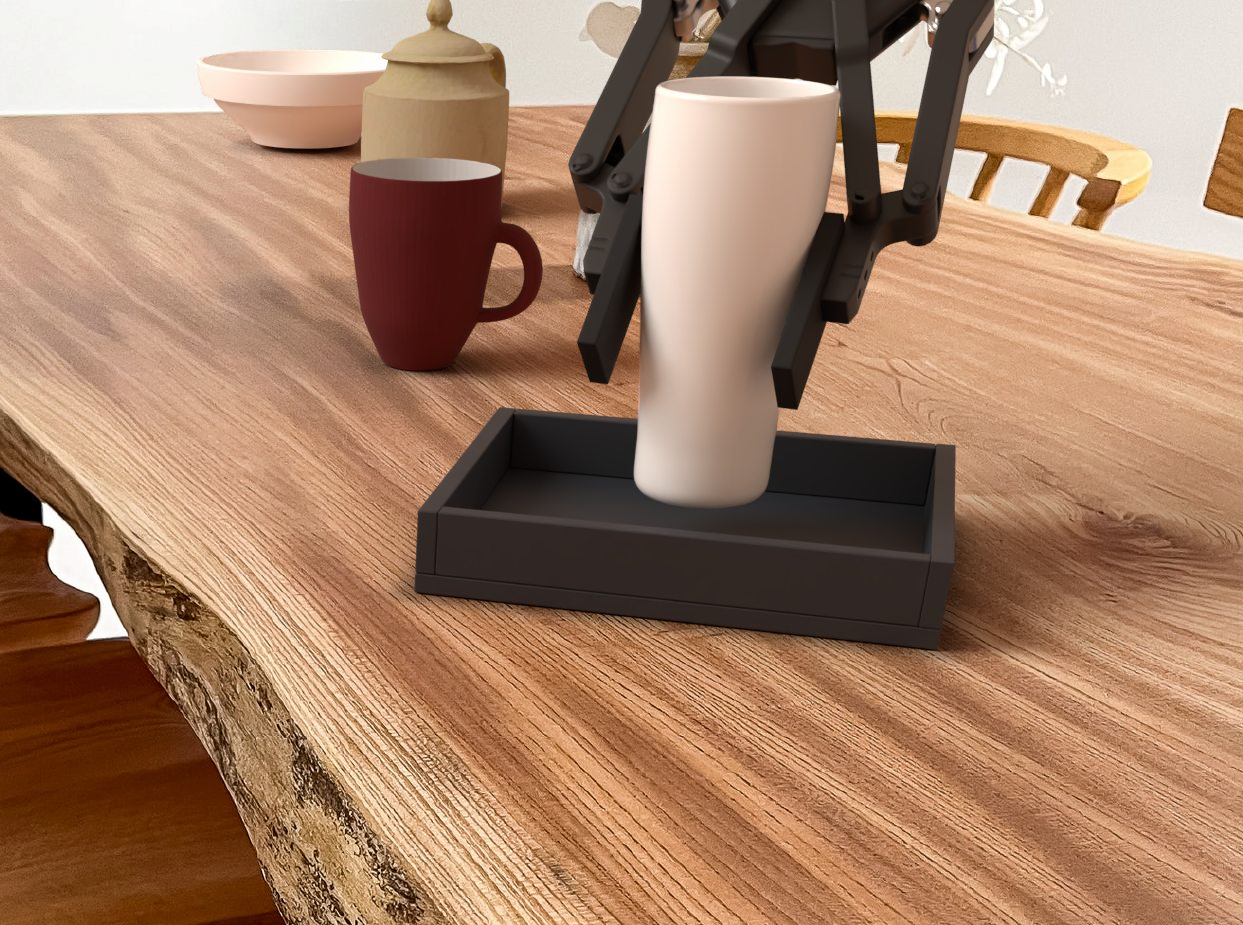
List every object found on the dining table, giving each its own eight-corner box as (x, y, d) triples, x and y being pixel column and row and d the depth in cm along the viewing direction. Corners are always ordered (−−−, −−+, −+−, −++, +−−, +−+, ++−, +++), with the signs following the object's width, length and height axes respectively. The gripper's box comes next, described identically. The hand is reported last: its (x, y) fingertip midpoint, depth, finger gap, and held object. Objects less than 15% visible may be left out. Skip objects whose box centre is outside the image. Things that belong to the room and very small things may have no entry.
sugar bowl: (365, 187, 155) (370, -20, 147) (500, 189, 154) (514, -19, 146) (356, 220, 142) (361, -5, 134) (504, 223, 141) (518, -3, 134)
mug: (540, 350, 108) (554, 161, 102) (530, 386, 101) (545, 185, 96) (356, 342, 109) (361, 155, 104) (334, 376, 102) (339, 178, 97)
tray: (941, 521, 82) (955, 444, 80) (937, 650, 69) (954, 563, 67) (494, 479, 87) (499, 406, 85) (413, 592, 74) (417, 509, 72)
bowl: (343, 170, 162) (345, 78, 159) (156, 151, 171) (153, 63, 167) (449, 142, 176) (453, 57, 173) (271, 125, 185) (271, 44, 182)
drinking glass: (750, 531, 73) (809, 103, 65) (587, 501, 76) (624, 90, 68) (807, 485, 78) (868, 83, 70) (651, 459, 81) (693, 71, 73)
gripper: (1120, -53, 74) (955, 465, 71) (639, -69, 82) (468, 397, 78) (1135, -215, 68) (954, 350, 64) (610, -215, 75) (421, 287, 72)
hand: (686, 375), depth 71 cm, fingers closed on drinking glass, 7 cm apart
